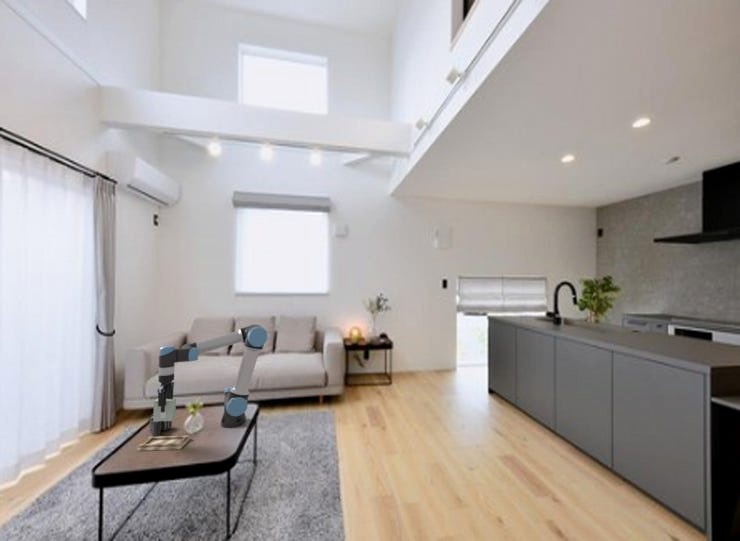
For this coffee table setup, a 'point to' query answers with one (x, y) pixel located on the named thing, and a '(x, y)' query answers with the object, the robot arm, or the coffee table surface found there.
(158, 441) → the track board
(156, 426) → the camera
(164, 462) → the coffee table surface
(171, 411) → the pale green block
